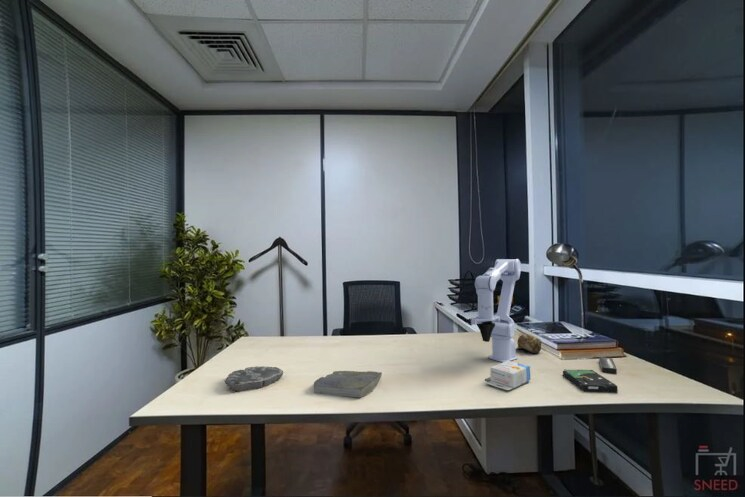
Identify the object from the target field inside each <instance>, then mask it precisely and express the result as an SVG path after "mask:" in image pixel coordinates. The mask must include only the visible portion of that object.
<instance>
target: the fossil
mask: <svg viewBox="0 0 745 497" xmlns="http://www.w3.org/2000/svg"><path fill="white" fill-rule="evenodd" d="M382 375H383V373H382V372H378V371H371V370H370V371H369V370H368V371H357V370H356V371H354V370H334V371H333V372H332V373H331V374H330V373H329V374H327V375H326V376H321V377H319V378H318V379H316V380H315V381H313V382H314V383H313V393H315V394H317V395H325V396H333V397H335V396H336V397H351V398H363V397H365V396H367V395H370V394H371V393H373V391H374V390H375V389H376V387H377V386H378V384H379V382H380V381H381V378H382Z"/></svg>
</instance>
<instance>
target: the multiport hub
mask: <svg viewBox="0 0 745 497" xmlns="http://www.w3.org/2000/svg"><path fill="white" fill-rule="evenodd" d="M598 363H599V366H600V370H601V373H606V374H613V375H617V373H618V372H617V371H618V369H617V366H616V364H615V362H614V360H613V358H611V357H603V356H599V357H598Z"/></svg>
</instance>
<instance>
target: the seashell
mask: <svg viewBox="0 0 745 497" xmlns="http://www.w3.org/2000/svg"><path fill="white" fill-rule="evenodd" d="M517 349H524V350H526V351H528V352H529V353H532V354H538V353H540V352H541V350H542V340H541V339H540V338H539V337H537V336H534V335H533V334H531V333H523V334H521V335H519V337H518V339H517Z"/></svg>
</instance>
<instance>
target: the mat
mask: <svg viewBox="0 0 745 497" xmlns="http://www.w3.org/2000/svg"><path fill="white" fill-rule="evenodd" d="M484 381H487V382H490V381H491V376H490V377H487V378H485V379H484ZM526 384H529V381H527V382H525V383H523V384H521V385H519V386H517V387H515V388H514V389H516V388H519V387H522V386H523V385H526Z"/></svg>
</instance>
